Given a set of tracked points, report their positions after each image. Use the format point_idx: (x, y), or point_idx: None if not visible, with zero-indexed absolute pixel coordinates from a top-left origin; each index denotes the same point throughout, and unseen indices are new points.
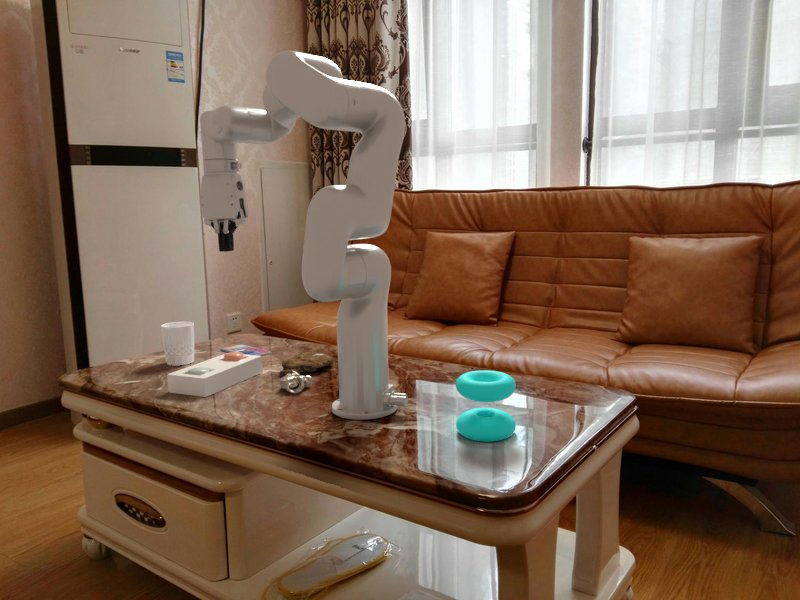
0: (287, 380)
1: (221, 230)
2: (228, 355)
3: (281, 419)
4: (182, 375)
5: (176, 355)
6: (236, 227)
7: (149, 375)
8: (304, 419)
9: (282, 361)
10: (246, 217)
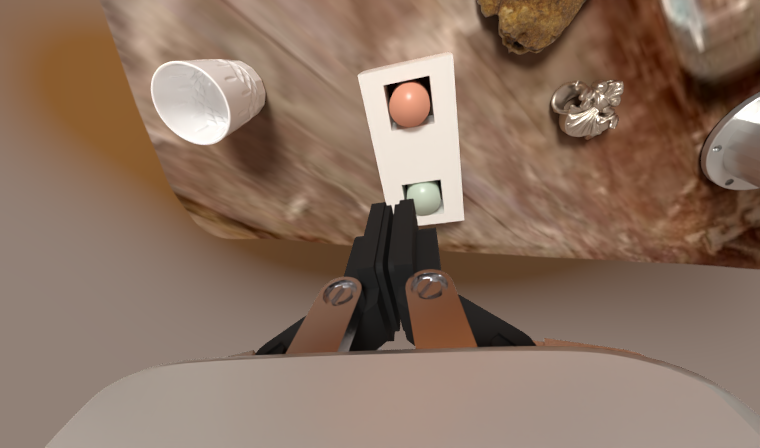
0: (587, 134)
1: (382, 344)
2: (406, 119)
3: (627, 221)
4: (418, 223)
5: (252, 116)
6: (501, 327)
7: (284, 173)
8: (663, 209)
9: (503, 32)
10: (669, 372)
